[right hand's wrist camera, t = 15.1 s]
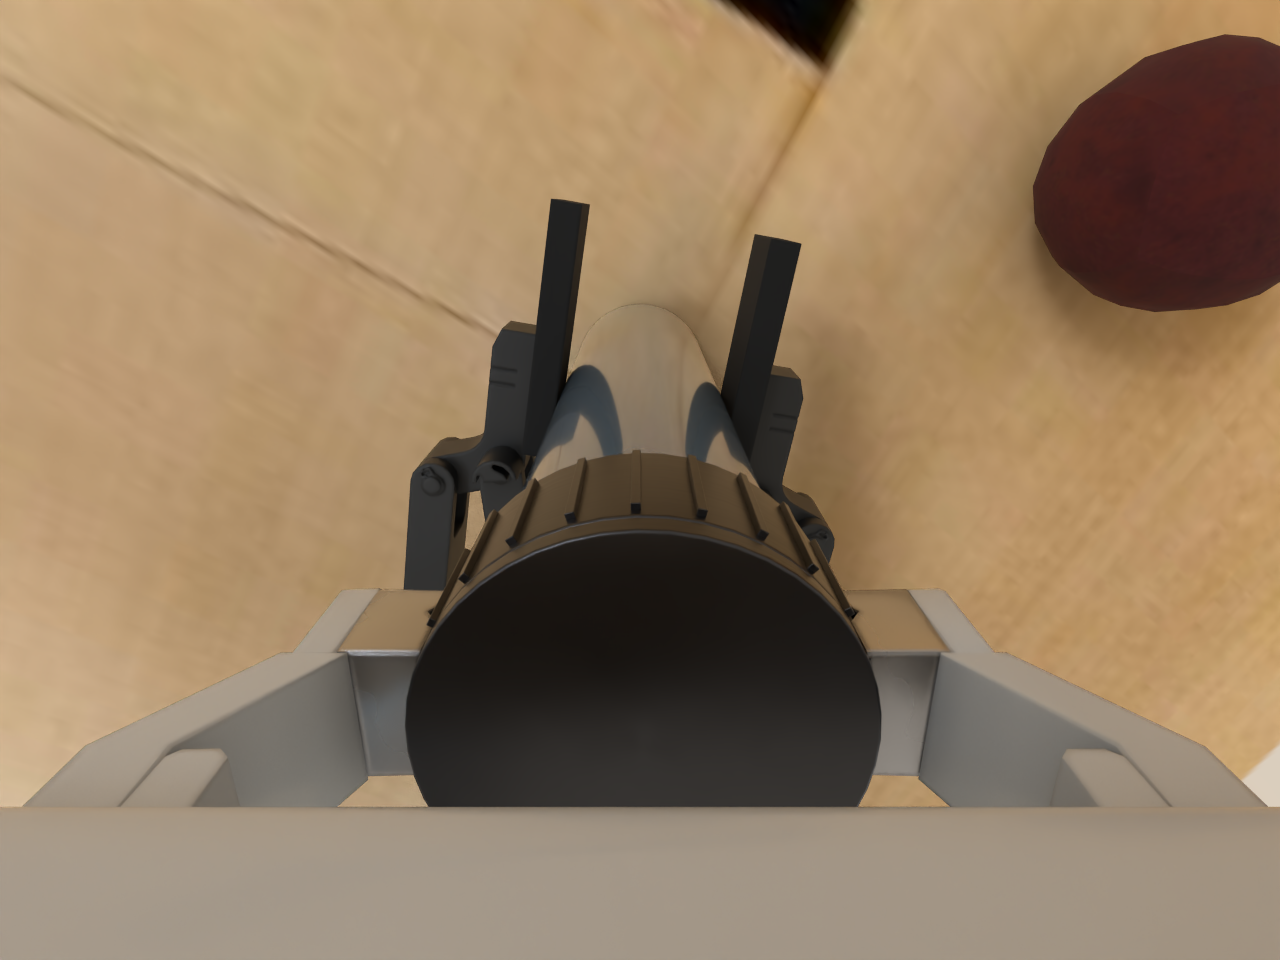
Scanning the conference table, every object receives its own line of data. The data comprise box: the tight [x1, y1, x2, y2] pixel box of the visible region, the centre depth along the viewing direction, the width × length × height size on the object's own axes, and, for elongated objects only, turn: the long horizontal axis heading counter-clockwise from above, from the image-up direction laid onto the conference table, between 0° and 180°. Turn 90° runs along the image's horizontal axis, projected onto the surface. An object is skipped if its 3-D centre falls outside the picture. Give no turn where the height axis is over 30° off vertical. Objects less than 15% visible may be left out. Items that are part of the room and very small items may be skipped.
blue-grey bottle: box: [521, 304, 761, 492], centre depth 18 cm, size 5×5×20 cm
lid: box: [405, 450, 882, 807], centre depth 9 cm, size 5×5×2 cm
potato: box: [1033, 34, 1280, 312], centre depth 21 cm, size 7×8×7 cm
